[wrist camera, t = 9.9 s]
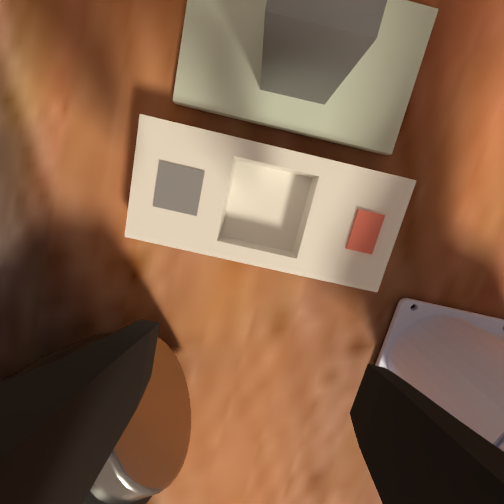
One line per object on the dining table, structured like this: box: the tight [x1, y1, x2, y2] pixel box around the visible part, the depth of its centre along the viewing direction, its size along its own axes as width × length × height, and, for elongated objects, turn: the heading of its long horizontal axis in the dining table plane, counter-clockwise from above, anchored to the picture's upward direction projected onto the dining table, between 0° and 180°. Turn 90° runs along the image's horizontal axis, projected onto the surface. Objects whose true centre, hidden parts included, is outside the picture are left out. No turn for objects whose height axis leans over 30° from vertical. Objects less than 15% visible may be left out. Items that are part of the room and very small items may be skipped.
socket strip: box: [125, 114, 417, 292], centre depth 17 cm, size 16×7×3 cm, turn 77°
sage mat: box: [173, 0, 439, 156], centre depth 16 cm, size 14×8×1 cm, turn 77°
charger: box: [260, 0, 387, 105], centre depth 12 cm, size 4×4×7 cm
